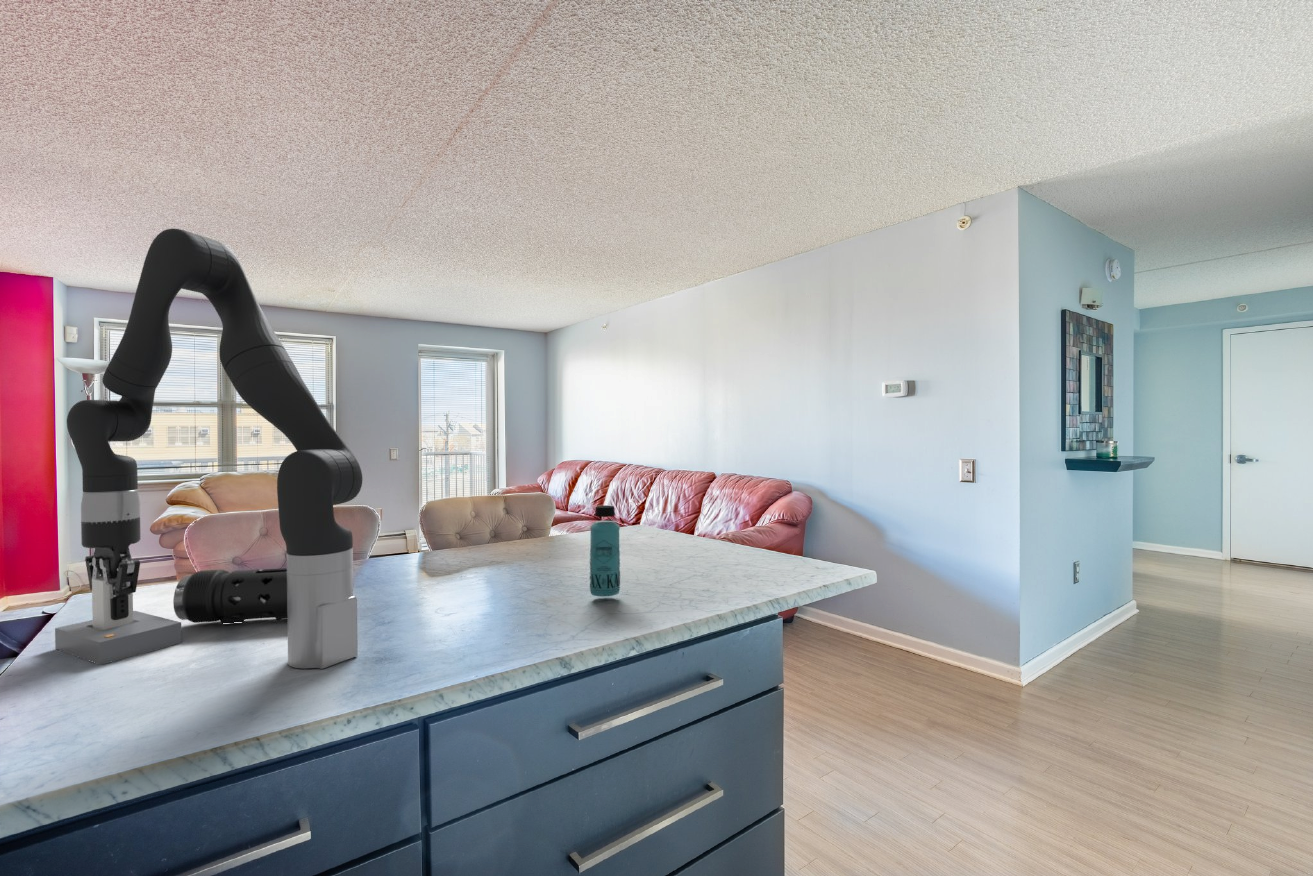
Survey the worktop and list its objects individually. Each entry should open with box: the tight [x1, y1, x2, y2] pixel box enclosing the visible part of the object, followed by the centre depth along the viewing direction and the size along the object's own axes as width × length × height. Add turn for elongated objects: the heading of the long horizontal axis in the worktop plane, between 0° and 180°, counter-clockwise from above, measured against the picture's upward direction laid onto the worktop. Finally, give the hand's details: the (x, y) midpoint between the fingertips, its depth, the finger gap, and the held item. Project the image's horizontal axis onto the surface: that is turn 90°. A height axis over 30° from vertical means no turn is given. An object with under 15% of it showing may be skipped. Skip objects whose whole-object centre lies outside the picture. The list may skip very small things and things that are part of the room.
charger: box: [91, 577, 134, 631], centre depth 104 cm, size 4×4×9 cm
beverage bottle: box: [588, 505, 621, 598], centre depth 128 cm, size 6×7×20 cm
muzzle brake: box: [172, 567, 287, 625], centre depth 116 cm, size 10×28×10 cm, turn 102°
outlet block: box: [54, 610, 183, 666], centre depth 103 cm, size 16×11×4 cm
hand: (113, 616), depth 104 cm, fingers closed on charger, 4 cm apart
